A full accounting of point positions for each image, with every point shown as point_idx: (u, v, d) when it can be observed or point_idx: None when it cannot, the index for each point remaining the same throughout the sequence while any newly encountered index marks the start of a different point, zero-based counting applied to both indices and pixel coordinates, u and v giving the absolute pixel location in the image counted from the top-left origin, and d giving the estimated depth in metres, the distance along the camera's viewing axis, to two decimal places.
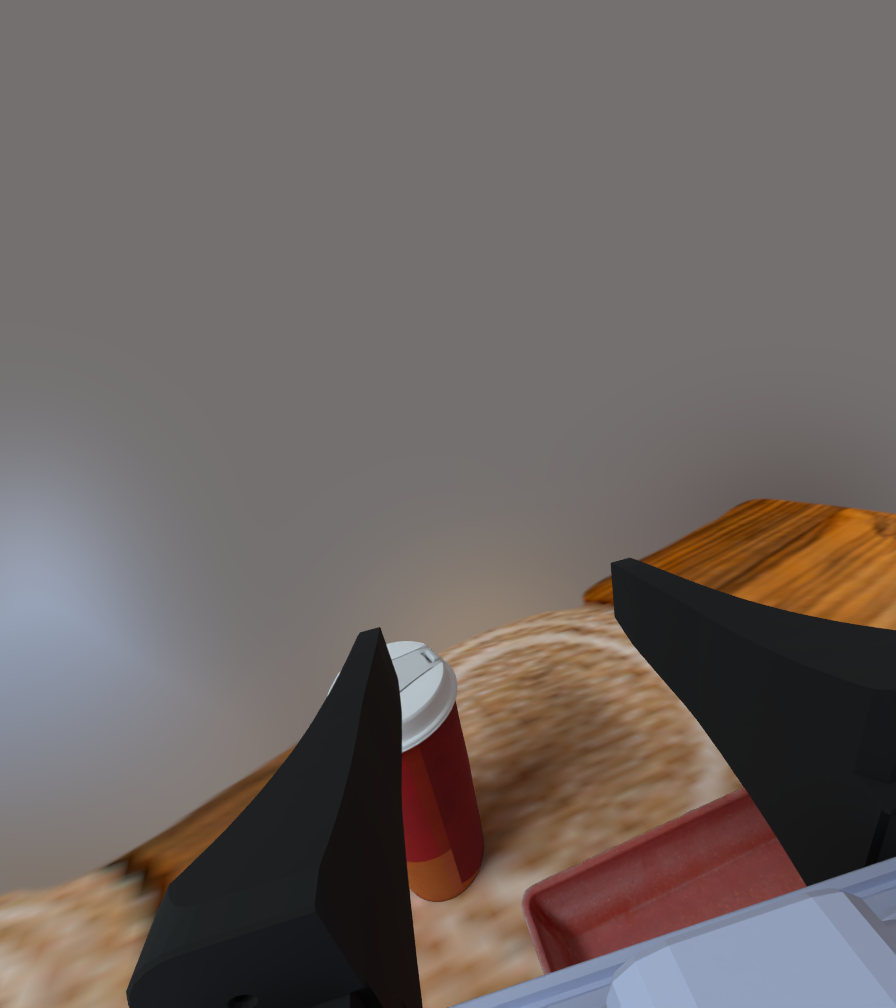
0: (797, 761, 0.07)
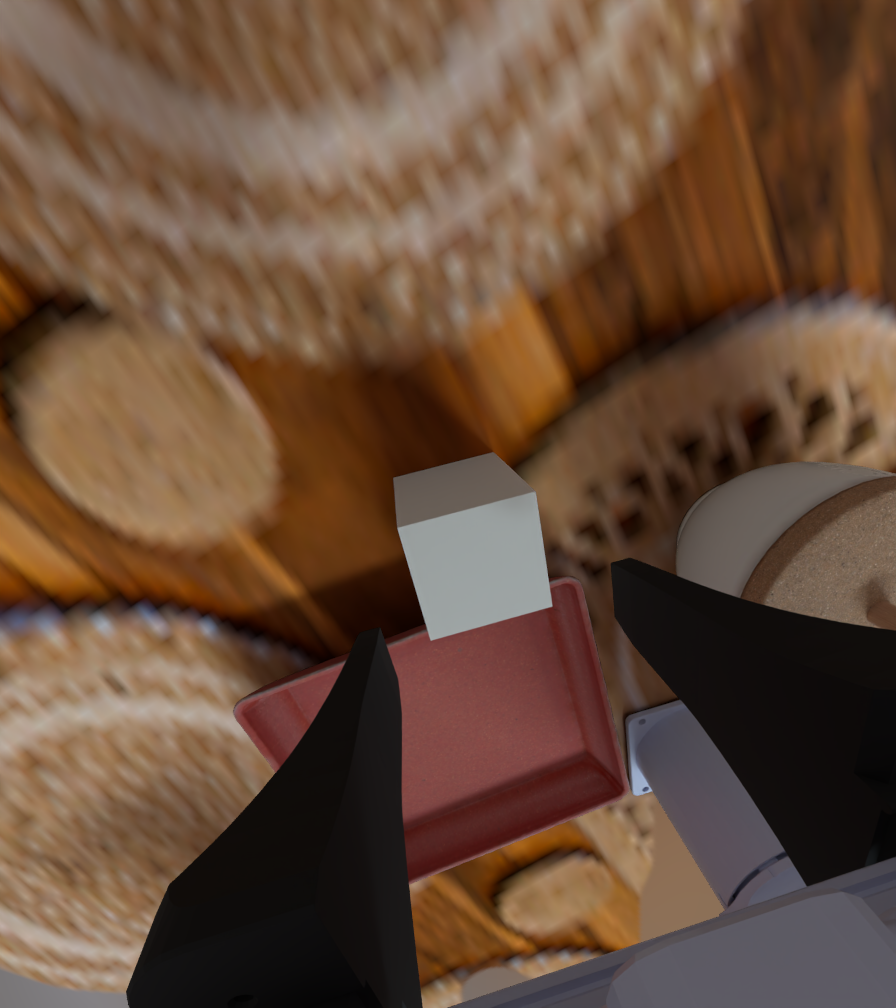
0: (797, 761, 0.07)
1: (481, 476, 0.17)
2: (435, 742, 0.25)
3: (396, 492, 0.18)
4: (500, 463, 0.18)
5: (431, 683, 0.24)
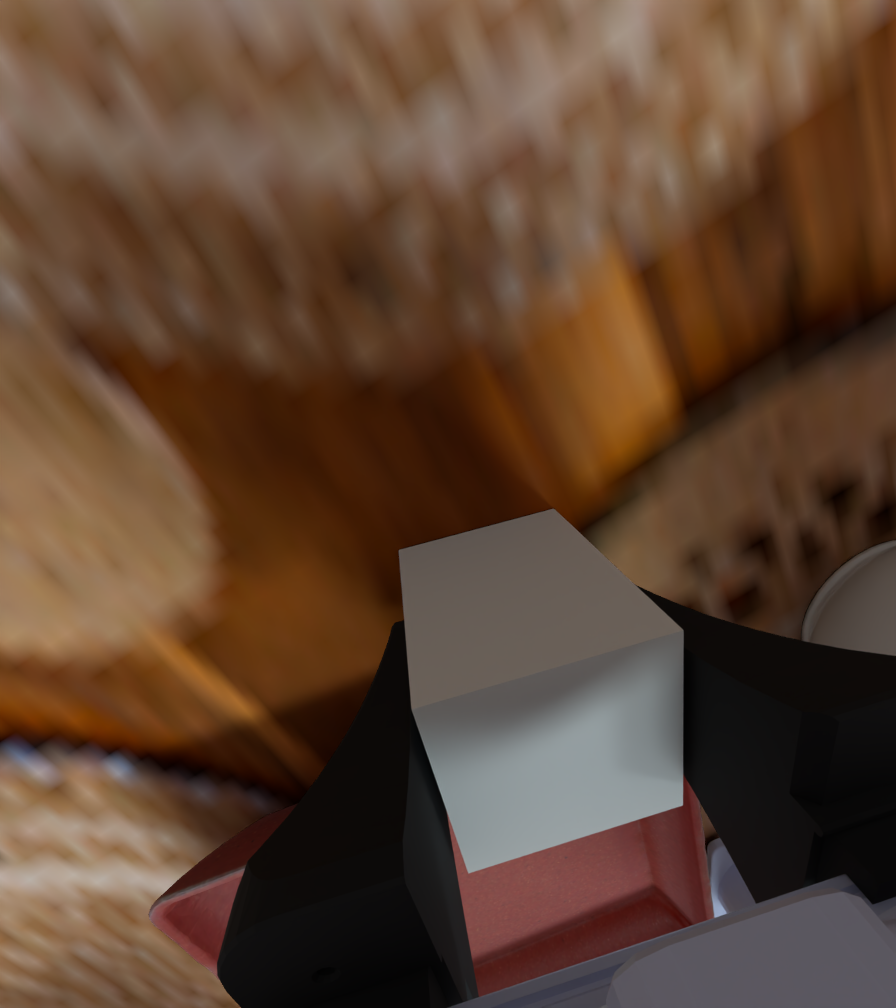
0: (742, 779, 0.07)
1: (552, 568, 0.10)
2: None
3: (405, 590, 0.10)
4: (576, 537, 0.11)
5: None
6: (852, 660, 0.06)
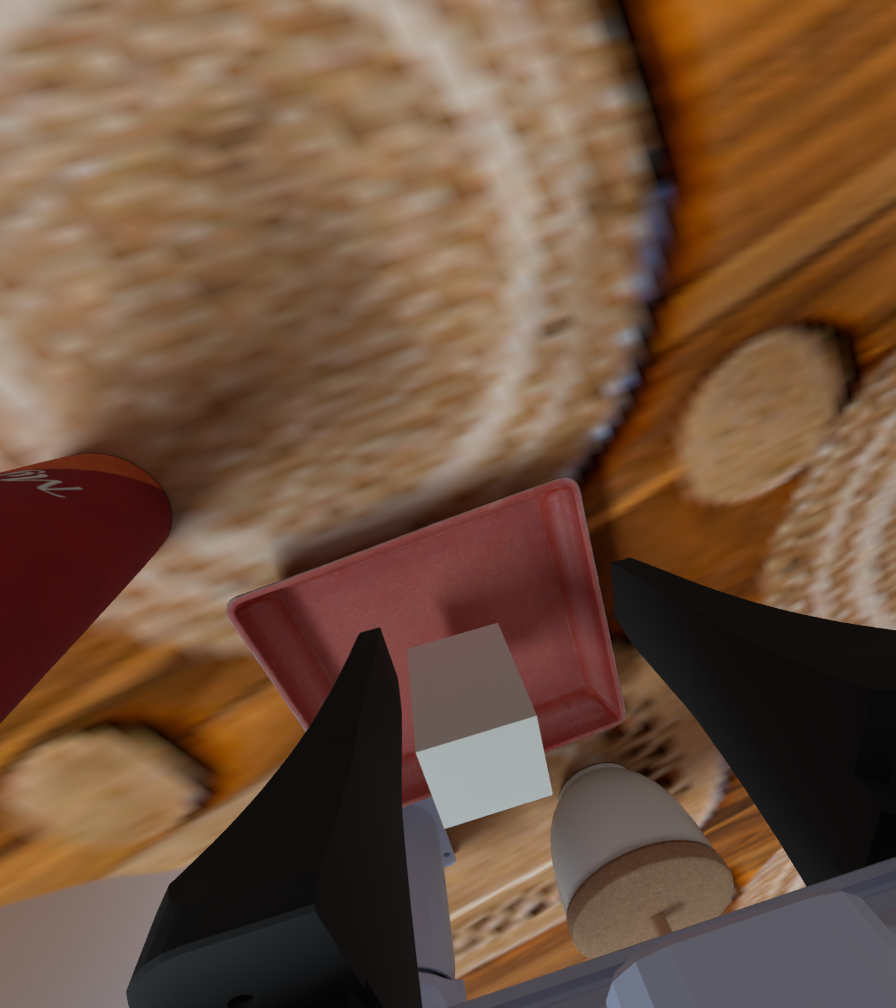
0: (797, 761, 0.07)
1: None
2: (429, 631, 0.24)
3: (510, 653, 0.20)
4: None
5: (505, 621, 0.25)
6: None
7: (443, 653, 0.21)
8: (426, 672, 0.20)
